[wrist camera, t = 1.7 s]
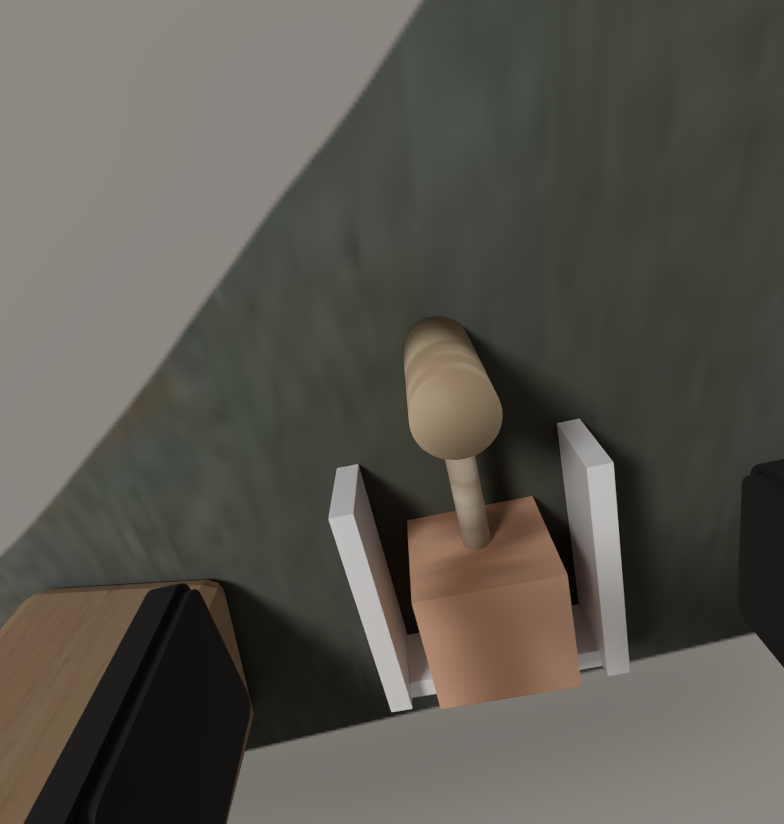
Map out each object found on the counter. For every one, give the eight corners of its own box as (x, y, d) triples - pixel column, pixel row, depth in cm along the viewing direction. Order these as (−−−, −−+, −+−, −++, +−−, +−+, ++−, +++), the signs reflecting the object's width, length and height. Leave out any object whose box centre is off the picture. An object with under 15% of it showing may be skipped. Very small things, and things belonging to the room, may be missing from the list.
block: (503, 300, 22) (550, 353, 16) (546, 594, 28) (593, 718, 22) (358, 333, 23) (347, 397, 16) (431, 614, 29) (444, 742, 22)
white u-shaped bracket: (579, 418, 24) (613, 462, 21) (599, 615, 29) (630, 680, 25) (337, 468, 25) (328, 518, 22) (393, 651, 30) (393, 719, 26)
